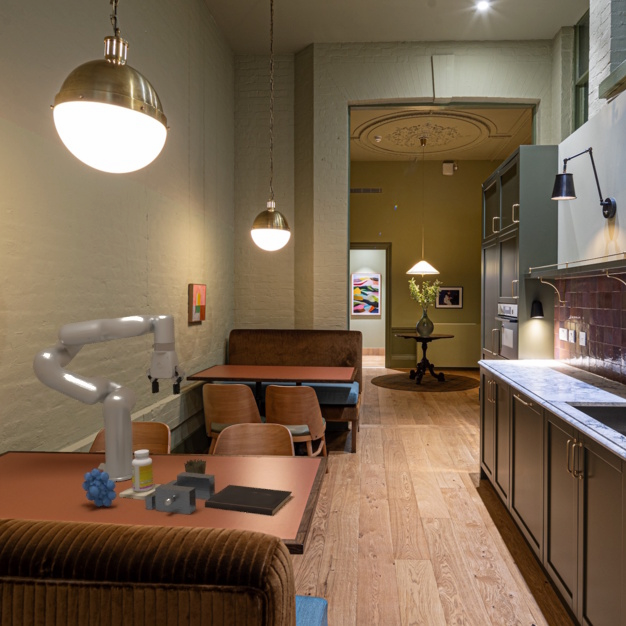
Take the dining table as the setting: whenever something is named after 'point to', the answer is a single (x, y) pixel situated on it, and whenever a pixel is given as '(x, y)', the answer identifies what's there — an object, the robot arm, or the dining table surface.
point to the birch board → (137, 493)
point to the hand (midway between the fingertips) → (166, 393)
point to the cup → (195, 466)
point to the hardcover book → (248, 500)
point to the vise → (181, 493)
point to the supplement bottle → (142, 471)
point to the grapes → (99, 488)
